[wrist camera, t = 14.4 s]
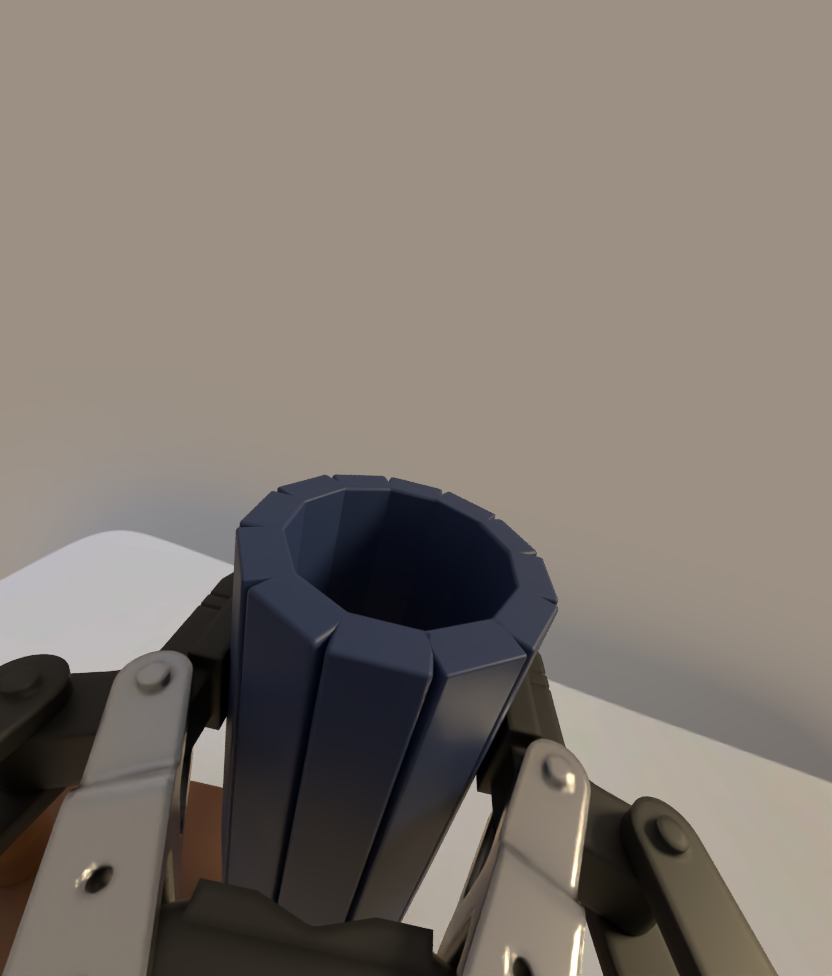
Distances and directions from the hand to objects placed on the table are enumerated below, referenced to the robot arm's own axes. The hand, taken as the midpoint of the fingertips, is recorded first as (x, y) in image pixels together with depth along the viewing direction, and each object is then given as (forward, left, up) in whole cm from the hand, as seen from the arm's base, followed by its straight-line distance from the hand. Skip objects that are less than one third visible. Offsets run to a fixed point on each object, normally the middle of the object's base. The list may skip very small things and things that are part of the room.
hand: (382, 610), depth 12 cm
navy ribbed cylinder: (+2, +2, -6) cm, 6 cm away
